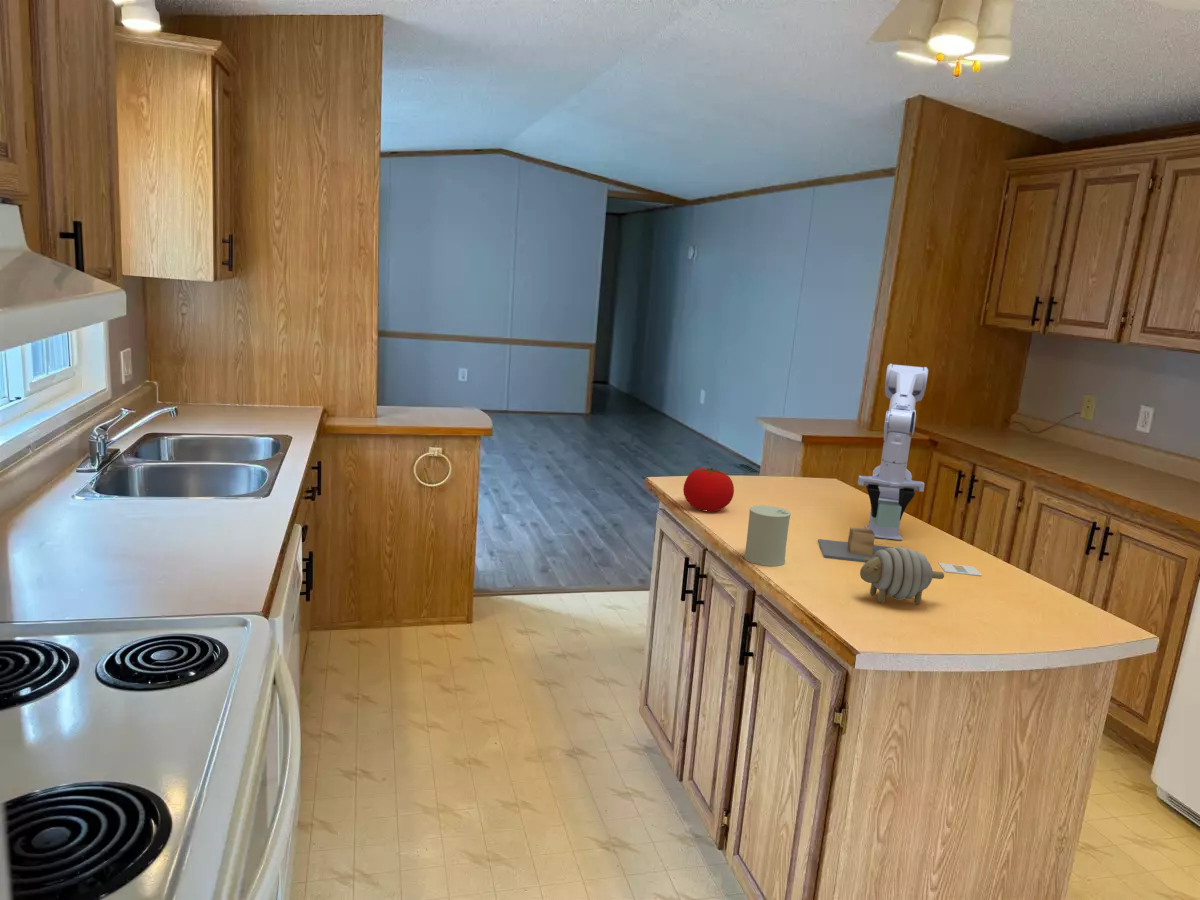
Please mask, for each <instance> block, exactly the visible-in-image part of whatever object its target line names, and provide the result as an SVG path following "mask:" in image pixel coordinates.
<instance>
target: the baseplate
mask: <svg viewBox="0 0 1200 900" xmlns="http://www.w3.org/2000/svg"><path fill="white" fill-rule="evenodd" d="M817 542H818V545H819V548H820V550H821V553H822V556H823V558H825V559H832V560H833V559H835V560H843V561H850V562H851V561H852V562H860V563H866V562H867V561H866V558H870V559H872V558H873V556H874V554H875V553H876V552H877V551H878V550H885V549H887V548H894V546H893V547H892V546H885V545H878V544H877V545H876V544H874V546H873V553H872V556H871V555H862V554H853V553H850V551H849V549H848V547H847V546H848V541H841V540H833V539H832V540H829V539H822V538H818V540H817Z"/></svg>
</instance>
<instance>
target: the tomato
mask: <svg viewBox="0 0 1200 900" xmlns="http://www.w3.org/2000/svg"><path fill="white" fill-rule="evenodd" d="M682 488H683V490H682V491H683V495H684V499H685V500H686V502H687V503H688V504H689V505H690V506H691V507H693V508H695V509H696V508H697V510H699V509H700V510H699V511H702V510H707V511H713V512H717V510H718V511H720V510H722V509H724V508H725V507H727V506H728V505H729V504H730V503H731V502H732V501H733V498H734V493H735V486H734V483H733V480H732V479H731V477H730V476H729V475H727V473H726V472H723V470H718V469H715V468H713V467H703V468H702V467H700V468H697V469H693V470H692V471H691V472H689V474H688V475H687V477H686V479H685V481H684V484H683V487H682ZM707 511H706V512H707Z"/></svg>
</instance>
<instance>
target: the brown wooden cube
mask: <svg viewBox="0 0 1200 900" xmlns="http://www.w3.org/2000/svg"><path fill="white" fill-rule="evenodd" d="M848 532H849V533H848V538H847V539H848V540H847V542H848V546H847V547H848V549H849V551H850V553H853V554H862V555H871V556H872V553H873V546H874V545H875V540H876V539H875V538H876V537H875V534H874V533H873V531H872V529H865V527H864V528H862V527H854V526H853V527H852V526H850V527H849V531H848Z"/></svg>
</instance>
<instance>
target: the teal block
mask: <svg viewBox="0 0 1200 900" xmlns="http://www.w3.org/2000/svg"><path fill="white" fill-rule="evenodd" d="M901 508H902V507H901V506H900V505H899V504H898V502H894V501H884V500H878V505H877V515H876V518H874V517H873V519H872V520H873V522H874V523H875V525H876V526H884V527H893V528H899V522H900V523H901V521H900V515H901ZM899 529H900V528H899Z"/></svg>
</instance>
